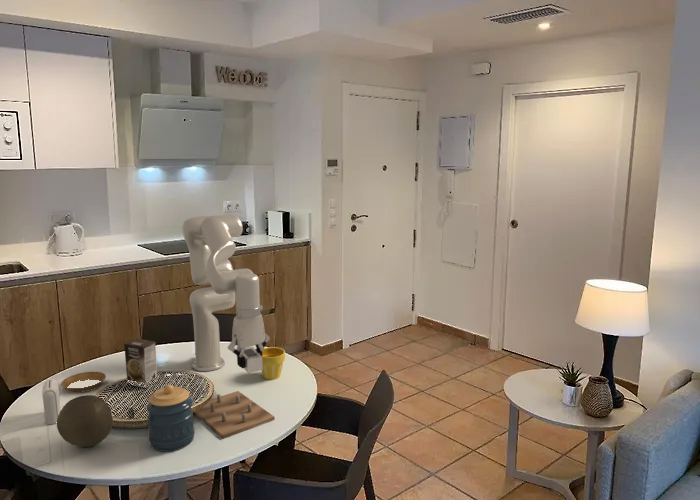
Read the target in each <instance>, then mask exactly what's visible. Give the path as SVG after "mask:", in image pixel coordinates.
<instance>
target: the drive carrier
mask: <svg viewBox="0 0 700 500" xmlns="http://www.w3.org/2000/svg"><path fill="white" fill-rule="evenodd" d="M255 349H256V348H254V347H253V346H250V347H247V348H245V350H244V353H243V356H244V358H245V368H243V369H244V371H246V373H248V374H249V373H254V372H258V371H261V370H263V365H262V356H261V355H260V354H259V353H258V352H257V351H256V350H255Z"/></svg>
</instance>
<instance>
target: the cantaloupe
mask: <svg viewBox="0 0 700 500" xmlns="http://www.w3.org/2000/svg"><path fill="white" fill-rule="evenodd" d="M113 424H114V419H113V415H112V409H111V407H110V406H109V404H108V403H106V402H105V401H104V399H102V398H101V397H99V396H98V395H97V396H96V395H92V394H89V395H88V394H85V395H80V396H76V397H74V398H72V399H70V400H68V401H67V402H66V403H65V404H64V405H63V406H62V408H61V411H60V413H59V415H58V418H57V423H56V429H57V431H58V433H59V435H60V436H61V438H62V439H63V440H64V441H65V442H66V443H68V444H70V445H72V446H75V447H78V448H86V447H92V446H96V445H97V444H99V443H101V442H102V441H104V440H105V439H106V438H107V437H108V436H109V434H110V433H111V430H112V427H113Z"/></svg>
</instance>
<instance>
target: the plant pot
mask: <svg viewBox="0 0 700 500" xmlns="http://www.w3.org/2000/svg"><path fill="white" fill-rule="evenodd" d="M285 360H286V351H285V349H283V348H282V347H276V346H269V347H264V350H263V351H262V365H263V370H260V371H261V374H262V375H261V376H262V378H264V379H265V380H277V379H279V378H280V377H281V375H282V368H283V364H284V362H285Z"/></svg>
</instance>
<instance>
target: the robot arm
mask: <svg viewBox="0 0 700 500" xmlns="http://www.w3.org/2000/svg"><path fill="white" fill-rule="evenodd" d="M243 226H244V225H243V223H242V220H241V219H240V217H239V216H237V215H236V214H219V215H204V216H195V217H194V216H193V217H190V218H187V219H185V220H184V221H183V223H182V235H183V238H184V241H185V243H186V245H187V248H188V252H189V264H190V265H189V266H190V273H191V278H192V282H193V284H194V285H197V286H204V285H205V286H206V285H210V286H208V287H202V288H198V289H195V290H194V291H192V292H191V293H190V295H189V305H190V309H191V314H192V320H193V333H194V334H193V335H194V336H193V337H194V355H195V360H194V361H193V362H192V363H191V367H192V369H193V370H195V371H199V372H212V371H216V370H219V369H221V368H222V367H224V365H225V364H226V362H225V359H224V358H222V357H221V343H220V341H221V340H220V325H219V324H220V323H219V320H218V319H217V317H216V316H215V315H214V314H213V312H217V311H223V310H228V309H231V308H233V307H234V306H236V307H235V310H236V311H235V312H236V315H235V316H234V318H233V321H232V331H231V334H232V335H231V342H230V343H229V345H228V346H227V350H229V351H230V352H232V353H233V354H234V355H235V356H236V360H237V361H236V362H237V363H236V364H237V365H238V367H240V368H241V369H244V368H245V358H244V356H243V353H244V350H245V348H248V347H253V346H255V347H256V348H254V349H255V350H256V351H257V352H258V353H259V354H260V355H261V356H262V351H263V350H264V348H266V345H267V343H268V342H269V341H270V339H271V337H270V336H269V334H267V333H266V331H265V324H264V319H263V315H262V313H261V310H263V309H264V307H263V305H262V304H260V278H259V276H258V275H257V274H255V273H254V272H253V271H252V270H251V269H249V268H237V269H233V265H232V262H231V261H230V260H229V258H231V257H232V256H233V255H234V253H235V252H236V250H237V249H236V248H237V247H236V243H235V242H234V239H233V238H239V237H240V236H241V235H242V233H243ZM235 347H236V348H235Z"/></svg>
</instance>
